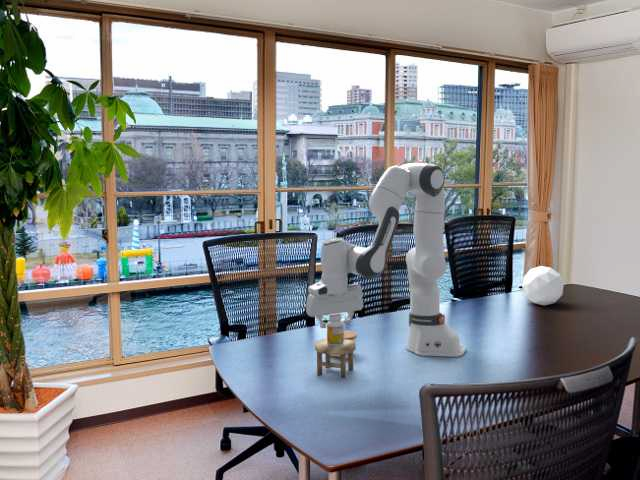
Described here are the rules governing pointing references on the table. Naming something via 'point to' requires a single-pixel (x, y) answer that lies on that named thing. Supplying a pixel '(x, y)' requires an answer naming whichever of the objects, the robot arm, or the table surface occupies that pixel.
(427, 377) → the table surface
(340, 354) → the stool
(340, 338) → the supplement bottle
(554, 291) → the geometric polyhedron
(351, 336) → the lidded jar
